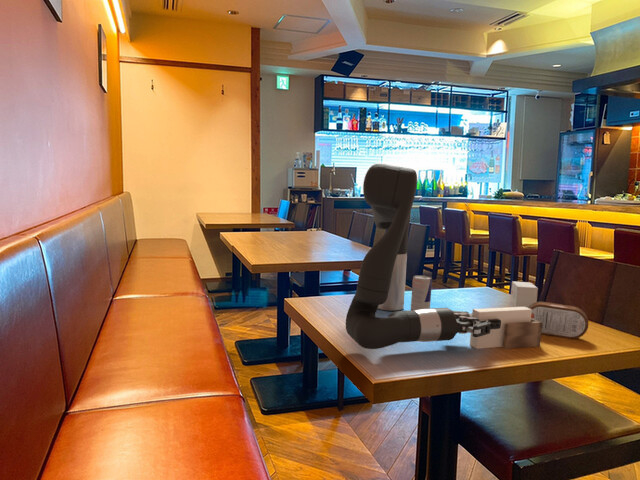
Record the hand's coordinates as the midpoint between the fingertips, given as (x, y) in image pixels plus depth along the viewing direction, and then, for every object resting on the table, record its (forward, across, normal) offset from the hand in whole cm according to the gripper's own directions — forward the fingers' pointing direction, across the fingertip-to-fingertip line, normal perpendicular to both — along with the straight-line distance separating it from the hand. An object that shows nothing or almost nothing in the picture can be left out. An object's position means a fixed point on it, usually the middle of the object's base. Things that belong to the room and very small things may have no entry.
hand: (493, 321), depth 114 cm
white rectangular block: (+2, 0, +6) cm, 6 cm away
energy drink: (-7, +24, +6) cm, 25 cm away
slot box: (+6, 0, +6) cm, 9 cm away
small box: (+24, +18, +6) cm, 30 cm away
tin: (+22, +4, +6) cm, 23 cm away
